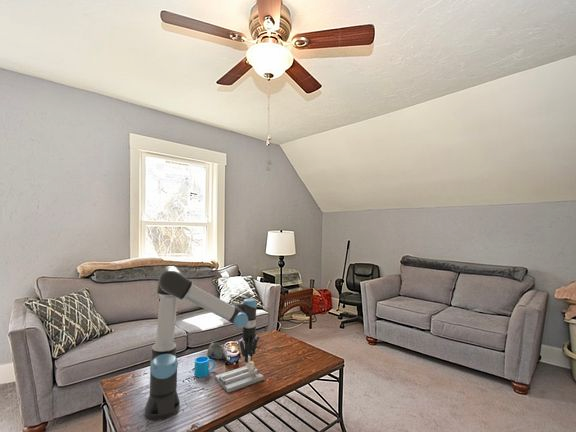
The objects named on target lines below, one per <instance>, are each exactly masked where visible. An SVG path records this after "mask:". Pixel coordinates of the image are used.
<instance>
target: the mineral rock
mask: <svg viewBox="0 0 576 432" xmlns="http://www.w3.org/2000/svg"><path fill="white" fill-rule="evenodd" d="M225 352H226V351H225V349H223V347H222V346H221V345H220V343H218V342H211V343H210V344H209V347H208V348H207V353H206V357H208V358H209V359H216V360H221V359H226V358H225Z"/></svg>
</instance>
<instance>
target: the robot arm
mask: <svg viewBox="0 0 576 432" xmlns="http://www.w3.org/2000/svg"><path fill="white" fill-rule="evenodd" d="M157 280H158V281H157V295H158V296H159V302H158V303H159V305H158V316H157V327H156V333H155V334H156V335H155V343H154V344H153V345H152V346H151V353H150V354H151V355H150V357H149V365H150V366H149V367H150V368H149V369H150V370H149V371H150V372H149V375H150V376H149V378H150V379H149V396H148V398H147V401H146V404H145V407H144V416H145V418H147V419H148V420H151V421H161V420H162V421H163V420H165V419H168V418H171V417H172V416H174V415H175V414H176V413H178V411H179V410H180V408H181V407H180V405H181V404H180V403H181V402H180V397H179V393H178V391H177V388H178V387H177V385H178V384H177V382H178V381H177V380H178V367H179V366H178V365H179V363H178V358H177V357H176V356H177V355H176V353H177V344H176V342H174V340H175V331H176V321H177V309H178V299H179V300H186V301H188V302H190V303H192V304H194V305H196V306H198V307H200V308H202V309H204V310H206V311H207V312H210V313H212V314H213V315H216V316H218V317H220V318H222V319H224V320H225V321H227V322H229V323H231V324H233V325H234V326H235V327H236V328H239V329H242V336H241V339H238V343H239V347H240V348H239V349H240V351H241V352H240V353H241V356H242V357H244V363H245V366H246V367H247V368H248V369H249V368H250V362H251V361H252V362H253V360H252V359H253V356H254V355H255V354H256V350H257V345H258V342H259V339H260V337H259V336H258V335H257V334H256V332H257V331H256V330H257V328H256V327H257V326H256V325H257V300H256V299H255V298H249V297H248V298H245V299H243V302H242V303H233V304H232V303H231V304H230V303H228V302H226V301H224V300H223V299H221V298H219V297H217V296H216V295H213V294H211V293H209V292H208V291H205V290H204V289H202V288H200V287H198V286H196V285H194V282H193V281H192V280H190V279H188V278H187V277H186V276H185V275H184V274H183V272H182V270H181V269H180V268H179V267H177V266H175V265H169V266H165V267H164V268H162V269H161V270H160V272H159V273H158V277H157Z"/></svg>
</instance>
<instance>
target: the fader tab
mask: <svg viewBox="0 0 576 432" xmlns="http://www.w3.org/2000/svg"><path fill="white" fill-rule="evenodd" d="M254 367H255V362H254V361H253V360H252V361H251V362H250V368H249V369H248V372H250V371H253V370H254Z"/></svg>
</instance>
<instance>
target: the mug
mask: <svg viewBox="0 0 576 432" xmlns="http://www.w3.org/2000/svg"><path fill="white" fill-rule="evenodd" d="M210 362H212V363H213V365H212V366H211V368H210ZM215 367H216V361H215V360H214V359H213V358H210V357H207V355H206V356H205V355H204V356H203V355H202V356H198V357H196V358H195V359H194V372H193V373H194V375H193V376H194V377H196V378H204V377H207V376H208V375H209V372H211V371H212V370H214V368H215Z"/></svg>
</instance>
